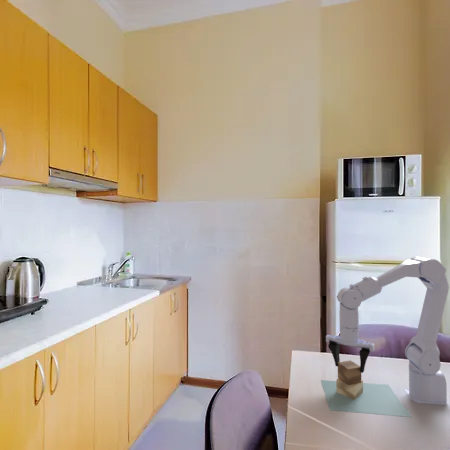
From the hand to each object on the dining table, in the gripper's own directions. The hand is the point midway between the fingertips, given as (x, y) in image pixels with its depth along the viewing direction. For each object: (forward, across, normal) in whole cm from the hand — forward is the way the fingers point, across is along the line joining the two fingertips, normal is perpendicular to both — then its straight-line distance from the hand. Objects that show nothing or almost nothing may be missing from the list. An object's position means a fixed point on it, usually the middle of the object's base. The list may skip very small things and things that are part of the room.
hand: (349, 368), depth 100 cm
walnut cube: (+4, 0, 0) cm, 4 cm away
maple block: (+8, 0, 0) cm, 8 cm away
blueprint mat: (+8, -4, 0) cm, 9 cm away
